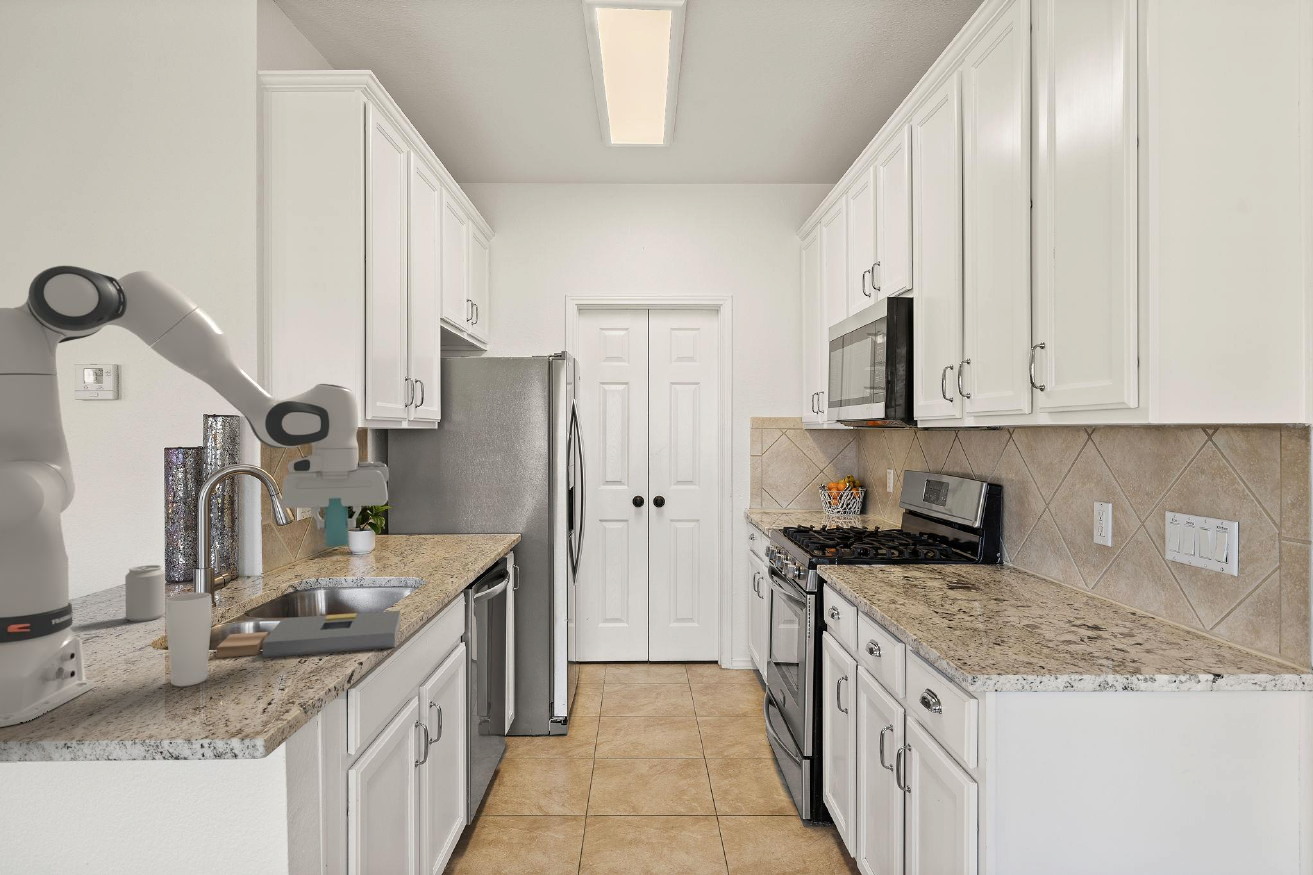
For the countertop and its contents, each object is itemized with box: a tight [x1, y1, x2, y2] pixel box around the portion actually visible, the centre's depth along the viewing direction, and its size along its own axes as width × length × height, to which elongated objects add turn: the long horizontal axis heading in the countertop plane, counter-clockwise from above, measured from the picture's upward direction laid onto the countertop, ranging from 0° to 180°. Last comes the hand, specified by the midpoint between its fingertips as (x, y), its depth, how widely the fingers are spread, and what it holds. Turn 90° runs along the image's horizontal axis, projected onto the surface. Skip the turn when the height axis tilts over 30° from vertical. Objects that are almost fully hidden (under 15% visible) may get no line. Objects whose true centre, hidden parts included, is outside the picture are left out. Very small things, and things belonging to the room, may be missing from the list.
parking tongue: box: [216, 631, 269, 659], centre depth 143 cm, size 9×7×2 cm
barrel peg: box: [324, 498, 349, 548], centre depth 149 cm, size 4×4×10 cm
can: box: [124, 564, 166, 623], centre depth 165 cm, size 8×8×12 cm
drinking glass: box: [164, 592, 213, 688], centre depth 124 cm, size 7×7×15 cm
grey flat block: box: [262, 610, 401, 659], centre depth 149 cm, size 18×24×3 cm
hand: (336, 528), depth 149 cm, fingers closed on barrel peg, 4 cm apart
